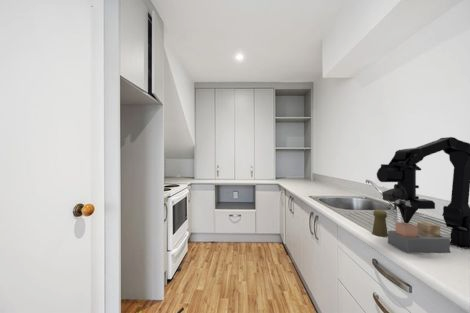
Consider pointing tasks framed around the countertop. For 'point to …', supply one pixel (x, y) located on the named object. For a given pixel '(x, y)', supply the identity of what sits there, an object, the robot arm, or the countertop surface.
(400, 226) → the terracotta key
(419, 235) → the grey socket block
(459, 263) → the countertop surface
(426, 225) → the oak key
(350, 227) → the countertop surface
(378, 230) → the olive brown cylinder
